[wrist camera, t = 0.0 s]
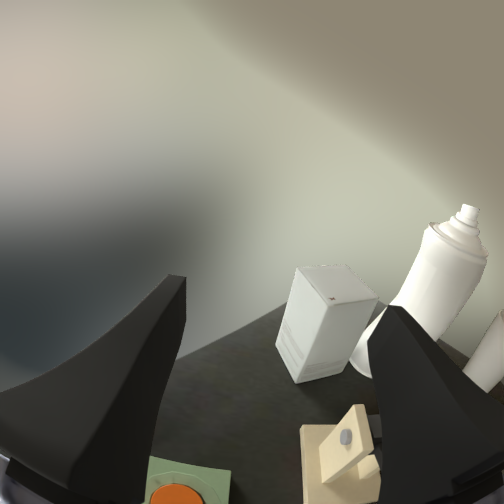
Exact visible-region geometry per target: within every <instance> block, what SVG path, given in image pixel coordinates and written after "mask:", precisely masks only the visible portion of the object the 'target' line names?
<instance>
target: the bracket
mask: <svg viewBox="0 0 504 504" xmlns="http://www.w3.org/2000/svg"><path fill="white" fill-rule="evenodd" d="M300 440H301V456H302V475H303V497H304V504H367V503H372V502H377V501H378V497H379V491H380V485H381V478H380V472H379V470H380V468H379V465H378V463H377V460H376V458H375V455H368V454H369V453H371V452H372V451H373V450H374V446H373V441H372V437H371V432H370V428H369V424H368V419H367V415H366V411H365V407H364V404H357V405H353V406H352V407H351V409H350V410H349V411H348V412H347V414H346V415H345V416H344V418H343V419H342V420H341V421H340V423H339V424H338V425H302V427H301V428H300Z"/></svg>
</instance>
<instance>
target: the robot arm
mask: <svg viewBox="0 0 504 504" xmlns="http://www.w3.org/2000/svg"><path fill="white" fill-rule="evenodd" d="M185 323H186V277H183V276H177V275H171V274H168V275H167V276H165V277H164V279H162V281H161V282H160V283H159V284H158V285H157V286H156V287H155V288H154V289H153V290H152V291H151V292H150V293H149V294H148V295H147V296H146V297H145V298H144V299H143V300H142V301H141V302H140V303H139V304H138V305H136V306H135V307H134V308H133V309H132V310H131V311H130V312H129V313H128V314H127V315H126V316H125V317H123V318H122V319H121V320H120V321H119V322H118V323H116V324H115V325H114V326H113V327H112V328H111V329H109V330H108V331H107V332H106V333H105V334H103V335H102V336H101V337H100V338H98V339H97V340H96V341H94V342H93V343H92V344H90V345H89V346H87V347H86V348H85V349H83V350H82V351H80V352H79V353H77V354H76V355H75V356H73V357H71V358H70V359H68V360H67V361H65V362H63V363H62V364H60V365H58V366H57V367H55V368H53V369H51V370H49V371H47V372H45V373H44V374H42V375H40V376H38V377H36V378H34V379H32V380H30V381H28V382H26V383H24V384H21V385H19V386H16V387H14V388H11V389H9V390H6V391H3V392H1V393H0V449H1V450H3V451H4V452H5V453H7V454H8V455H10V456H11V458H10V459H8V458H7V457H4V456H3V455H1V454H0V504H142V503H144V502H145V491H146V481H147V473H148V466H149V459H150V452H151V446H152V441H153V435H154V430H155V425H156V420H157V415H158V411H159V407H160V403H161V400H162V396H163V393H164V390H165V388H166V385H167V382H168V379H169V376H170V373H171V370H172V368H173V365H174V362H175V359H176V356H177V353H178V350H179V347H180V344H181V340H182V336H183V332H184V327H185ZM367 349H368V359H369V367H370V371H371V376H372V380H373V385H374V389H375V394H376V398H377V403H378V408H379V412H380V419H381V427H382V474H381V485H380V491H379V497H378V503H377V504H504V474H503V475H502V472H501V471H502V470H503V469H504V405H502V404H501V403H500V402H498V401H497V400H495V399H494V398H493V397H491V396H490V395H489V394H488V393H486V392H485V391H484V390H483V389H481V388H480V387H479V386H478V385H477V384H476V383H474V382H473V381H472V380H471V379H470V378H469V377H468V376H467V375H466V374H465V373H464V372H463V371H462V370H461V369H460V368H459V367H458V366H457V365H456V364H455V363H454V362H453V361H452V360H451V359H450V358H449V357H448V356H447V355H446V353H445V352H444V351H443V350H442V349H441V348H440V347H439V346H438V345H437V343H436V342H435V341H434V340H433V339H432V338H431V337H430V336H429V334H428V333H427V332H426V331H425V330H424V329H423V328H422V327H421V325H420V324H419V323H418V322H417V321H416V320H415V319H414V318H413V317H412V316H411V315H410V314H409V313H408V312H407V311H406V310H405V309H404V308H403V307H402V306H397V305H388V306H387V308H386V310H385V312H384V313H383V315H382V317H381V319H380V320H379V322H378V324H377V325H376V327H375V329H374V330H373V332H372V334H371V335H370V337H369V339H368V340H367Z"/></svg>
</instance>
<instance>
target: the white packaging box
mask: <svg viewBox="0 0 504 504" xmlns="http://www.w3.org/2000/svg"><path fill="white" fill-rule="evenodd" d="M378 299H379V297H378V296H377V295H376V294H375V293H374V292H373V291H372V290H371V289H370V288H369V287H368V286H367V285H366V284H365V283H364V282H363V281H362V280H361V279H360V278H359V277H358V276H357V275H356V274H355V273H354V272H353V271H352V270H351V269H350V268H349V267H348V266H347V265H327V266H309V267H297V270H296V273H295V277H294V281H293V284H292V288H291V292H290V296H289V299H288V303H287V306H286V310H285V314H284V317H283V321H282V324H281V328H280V331H279V334H278V338H277V341H276V344H275V345H276V347H277V349H278V351H279V353H280V355H281V357H282V359H283V361H284V363H285V365H286V367H287V369H288V371H289V372H290V374H291V376H292V378H293V380H294V382H295V383H296V384H297V383H301V382H306V381H310V380H315V379H319V378H323V377H327V376H331V375H334V374H338V373H341V372H342V371H343V370H344V368H345V366H346V364H347V362H348V361H349V359H350V357H351V355H352V353H353V351H354V349H355V347H356V345H357V343H358V341H359V339H360V337H361V335H362V333H363V331H364V330H365V327H366V325H367V323H368V321H369V319H370V317H371V315H372V313H373V310H374V308H375V306H376V304H377V302H378Z"/></svg>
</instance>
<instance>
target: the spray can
mask: <svg viewBox="0 0 504 504" xmlns="http://www.w3.org/2000/svg"><path fill="white" fill-rule="evenodd" d="M479 210H480V209H478V208H475V207H472V206H469V205H465V204H463V206H462V209H461V212H457V214H456V216H451V218H450V221H445V222H443V223H441V224H440V223H435V222H431V223H429V225H428V226H429V228H427V229H425V231H424V235H423V240H422V243H421V248H420V251H419V253H418V255H417V257H416V259H415V262H414V264H413V266H412V268H411V270H410V272H409V274H408V276H407V278H406V280H405V282H404V284H403V286H402V288H401V290H400V292H399V294H398V295H397V296H396V297H395V298H394V300H393V301H392V302H391V303H390V304H389V305H397V306H402V307H403V308H404V309H405V310H406V311H407V312H408V313H409V314H410V315H411V316H412V317H413V318H414V319H415V320H416V321H417V322H418V323H419V324H420V325H421V327H422V328H423V329H424V330H425V331H426V332H427V333H428V334H429V336H430V337H431V338H432V339H433V340H434V341H435V342H436V341H437V340H438V338H439V337H440V336H441V335H442V334H443V333H444V332H445V331H446V330H447V329H448V327H449V326H450V325H451V323H452V322H453V320H454V319H455V318H456V316H457V315H458V313H459V312H460V311H461V309H462V308H463V306H464V305H465V303H466V302H467V300H468V299H469V297H470V296H471V294H472V293H473V291H474V290H475V288H476V286H477V285H478V283H479V281H480V279H481V276H482V274H483V271H484V268H485V266H486V263H487V260H486V257H487V256H488V251H487V250H486V249H485V248H484V247H483V246H482V245H481V241H480V239H479V237H478V235H479V233H480V231H479V229H478V228H477V224H478V222H477V221H476V219H477V216H478V213H479ZM386 308H387V307H386ZM386 308H385V310H386ZM385 310H384V311H383V312H382V313H381V314H380V315H379V316H378V317H377V318H376V319H375V320H374V321H373V322H372V323H371V324H370V325H369V326H368V328H367V329H366V330H365V331H364V332H363V333H362V335H361V337H360V339H359V341H358V343H357V345H356V347H355V349H354V351H353V353H352V355H351V357H350V359H349V361H350V363H351V364H352V366H353V367H354V368H355V369H356V370H357V371H358V372H360V373H361V374H363V375H365V376H366V377H369V378H371V379H372V376H371V371H370V367H369V359H368V349H367V340H368V339H369V337H370V335H371V334H372V332H373V330H374V329H375V327H376V325H377V324H378V322H379V320H380V319H381V317H382V315H383V313H384V312H385Z"/></svg>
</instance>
